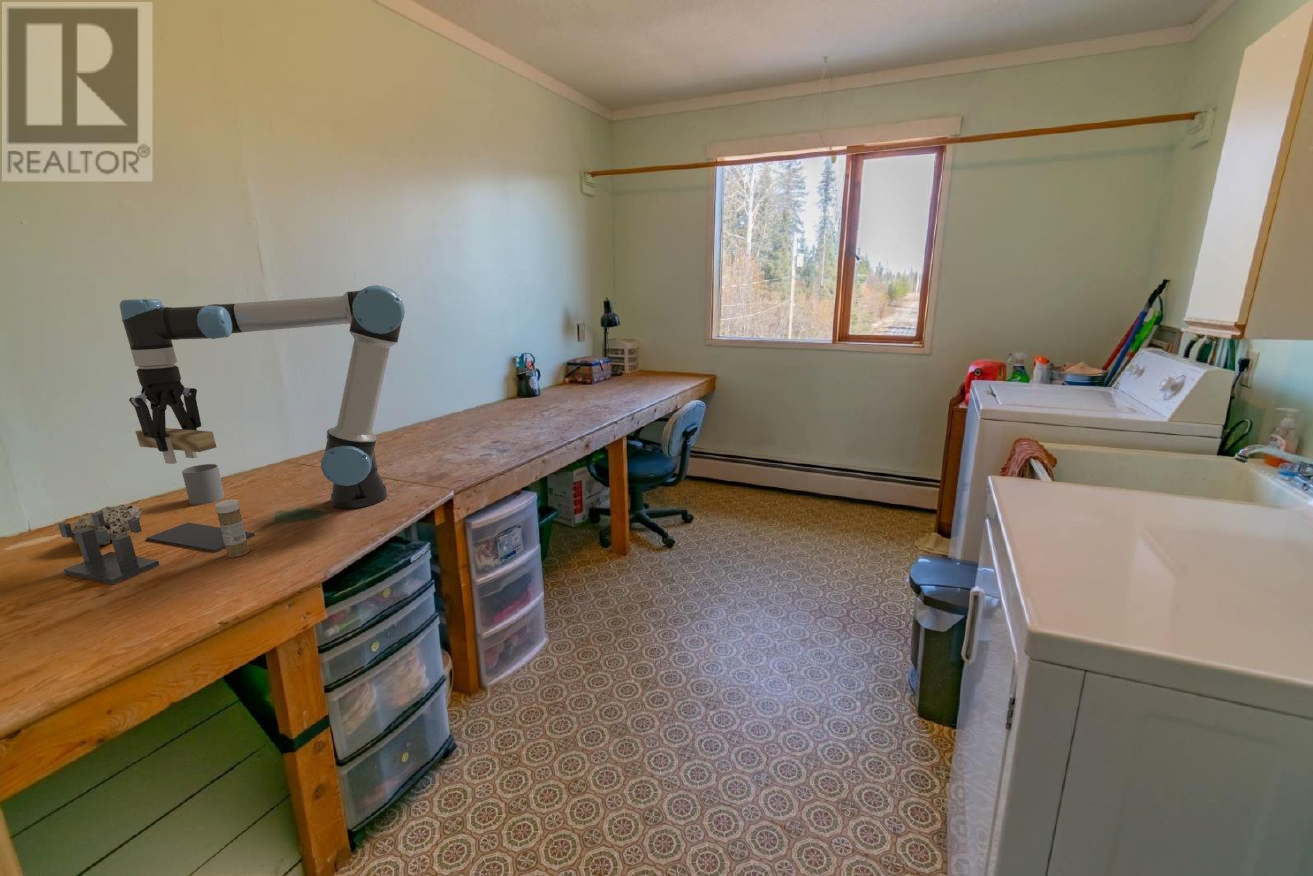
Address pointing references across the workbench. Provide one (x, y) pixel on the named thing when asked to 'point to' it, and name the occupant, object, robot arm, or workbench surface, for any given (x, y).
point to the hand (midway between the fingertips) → (181, 460)
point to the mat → (194, 537)
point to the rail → (182, 440)
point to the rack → (110, 564)
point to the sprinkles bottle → (232, 528)
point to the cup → (203, 484)
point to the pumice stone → (109, 521)
